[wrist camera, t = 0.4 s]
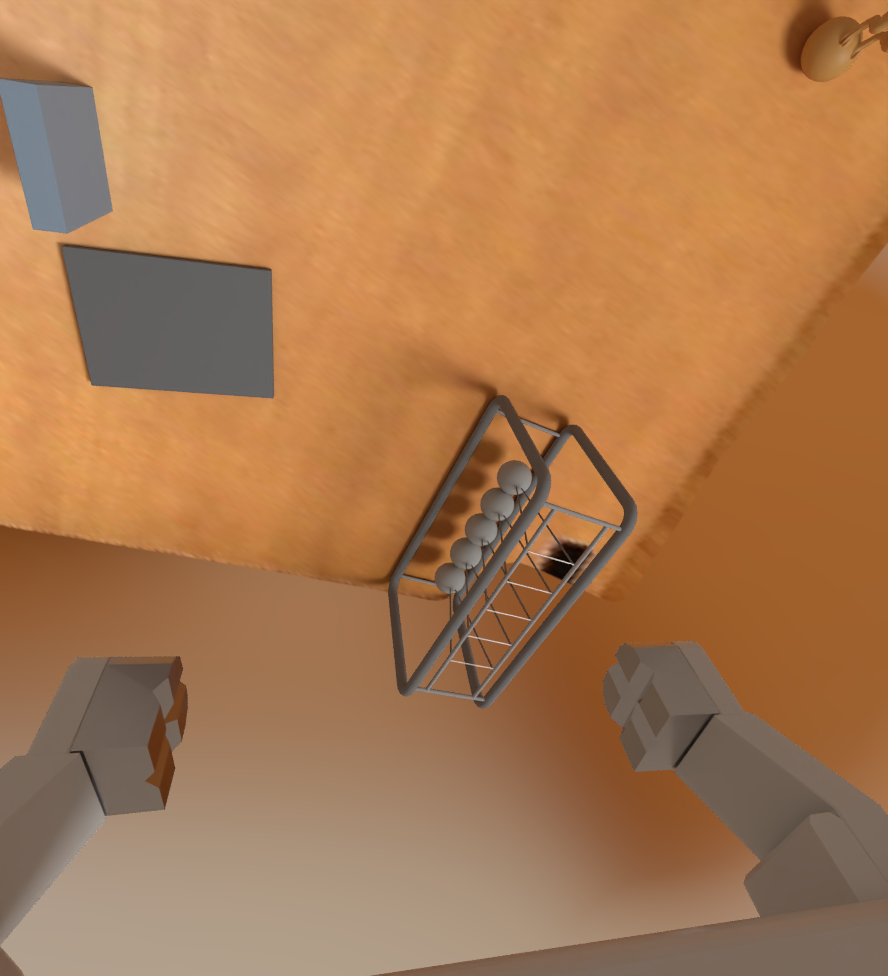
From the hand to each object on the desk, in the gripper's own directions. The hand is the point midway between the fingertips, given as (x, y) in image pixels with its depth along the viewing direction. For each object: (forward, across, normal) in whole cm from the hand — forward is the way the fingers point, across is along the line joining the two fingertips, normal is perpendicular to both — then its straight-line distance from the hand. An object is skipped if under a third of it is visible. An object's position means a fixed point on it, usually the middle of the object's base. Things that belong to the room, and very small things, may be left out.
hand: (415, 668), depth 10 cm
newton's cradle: (+45, -16, +30) cm, 56 cm away
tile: (+45, +20, -2) cm, 49 cm away
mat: (+45, +15, +11) cm, 49 cm away
